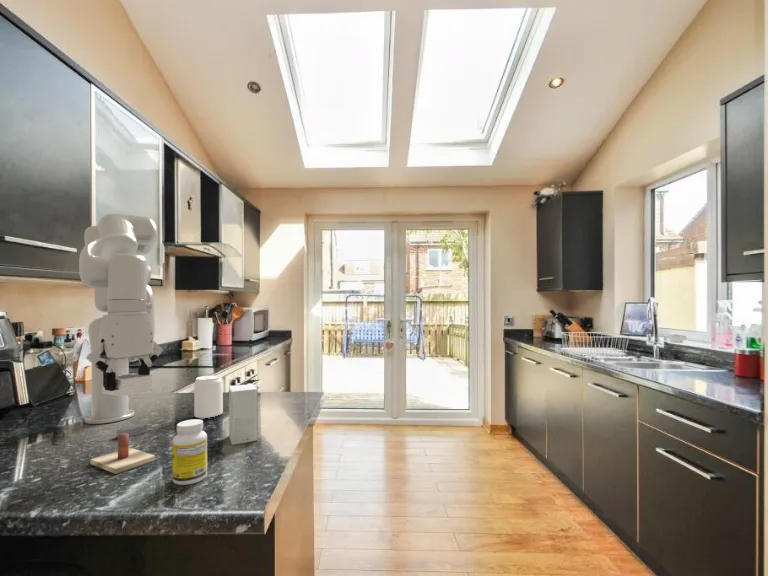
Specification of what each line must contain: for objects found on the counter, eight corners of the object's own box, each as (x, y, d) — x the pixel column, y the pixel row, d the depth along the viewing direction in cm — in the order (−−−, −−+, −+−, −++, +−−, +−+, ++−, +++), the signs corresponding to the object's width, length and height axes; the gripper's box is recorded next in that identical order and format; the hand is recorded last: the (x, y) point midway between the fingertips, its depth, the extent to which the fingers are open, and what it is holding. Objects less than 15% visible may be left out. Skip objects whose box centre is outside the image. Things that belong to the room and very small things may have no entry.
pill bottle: (180, 473, 80) (180, 418, 80) (211, 471, 80) (211, 417, 81) (166, 487, 73) (166, 428, 74) (200, 485, 74) (200, 426, 74)
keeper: (90, 463, 85) (90, 436, 86) (129, 451, 92) (129, 426, 92) (115, 474, 80) (116, 444, 80) (155, 460, 87) (155, 432, 87)
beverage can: (212, 420, 117) (211, 380, 117) (188, 419, 118) (188, 379, 119) (228, 412, 125) (227, 375, 125) (205, 411, 126) (205, 374, 127)
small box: (258, 441, 98) (257, 388, 98) (231, 445, 95) (231, 391, 95) (253, 431, 105) (253, 383, 105) (228, 435, 102) (228, 385, 103)
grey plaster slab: (117, 436, 103) (117, 429, 103) (140, 430, 108) (140, 423, 108) (122, 438, 101) (122, 431, 102) (146, 432, 107) (146, 424, 107)
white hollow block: (102, 393, 87) (102, 377, 87) (132, 387, 93) (132, 373, 93) (121, 396, 83) (121, 380, 83) (151, 390, 89) (151, 375, 89)
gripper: (156, 308, 98) (156, 379, 97) (75, 309, 83) (74, 393, 82) (173, 307, 94) (174, 381, 93) (92, 308, 79) (91, 396, 78)
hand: (127, 386), depth 88 cm, fingers closed on white hollow block, 6 cm apart
